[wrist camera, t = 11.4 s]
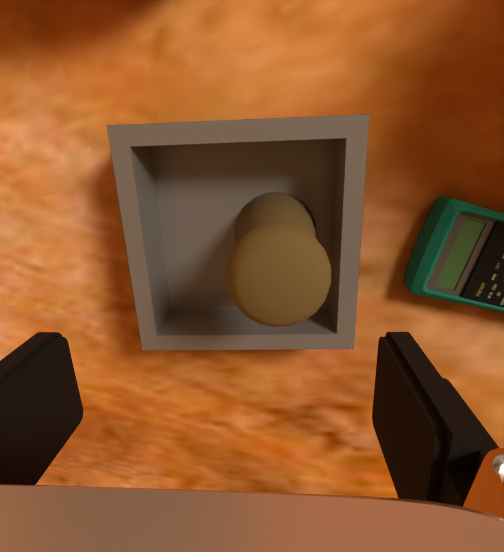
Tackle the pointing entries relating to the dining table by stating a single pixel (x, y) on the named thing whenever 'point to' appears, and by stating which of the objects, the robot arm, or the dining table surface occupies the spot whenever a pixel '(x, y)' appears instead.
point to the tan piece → (277, 262)
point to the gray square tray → (222, 220)
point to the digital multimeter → (460, 255)
